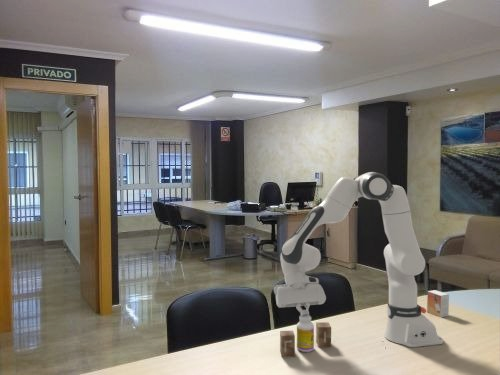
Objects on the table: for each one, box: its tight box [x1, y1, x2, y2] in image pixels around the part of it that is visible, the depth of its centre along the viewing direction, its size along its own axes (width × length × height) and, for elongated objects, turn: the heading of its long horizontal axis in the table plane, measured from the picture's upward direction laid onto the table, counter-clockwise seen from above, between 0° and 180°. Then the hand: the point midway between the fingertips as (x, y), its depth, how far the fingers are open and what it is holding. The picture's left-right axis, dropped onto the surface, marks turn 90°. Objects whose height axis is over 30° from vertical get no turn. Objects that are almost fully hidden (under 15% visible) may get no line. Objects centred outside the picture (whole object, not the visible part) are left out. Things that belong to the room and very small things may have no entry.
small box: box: [426, 289, 450, 318], centre depth 196 cm, size 8×6×10 cm
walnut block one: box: [315, 321, 332, 348], centre depth 163 cm, size 5×5×8 cm
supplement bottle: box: [296, 314, 315, 353], centre depth 159 cm, size 7×7×13 cm
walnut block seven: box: [279, 330, 296, 358], centre depth 155 cm, size 5×5×8 cm
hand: (305, 315), depth 159 cm, fingers closed, pressing on supplement bottle
